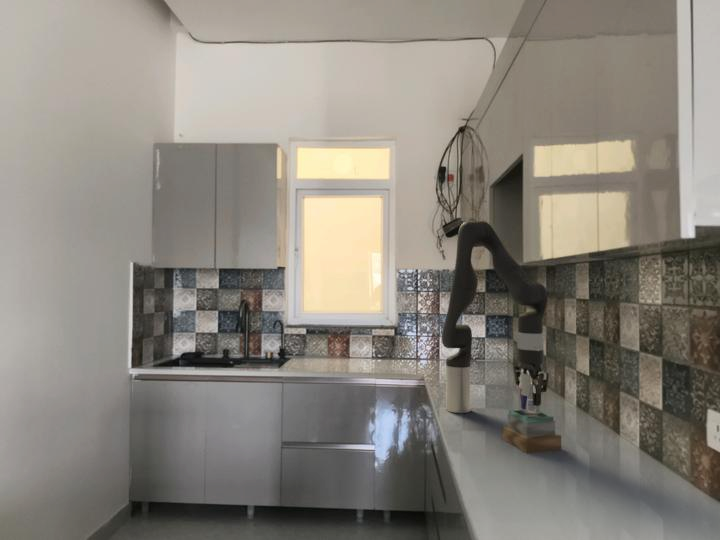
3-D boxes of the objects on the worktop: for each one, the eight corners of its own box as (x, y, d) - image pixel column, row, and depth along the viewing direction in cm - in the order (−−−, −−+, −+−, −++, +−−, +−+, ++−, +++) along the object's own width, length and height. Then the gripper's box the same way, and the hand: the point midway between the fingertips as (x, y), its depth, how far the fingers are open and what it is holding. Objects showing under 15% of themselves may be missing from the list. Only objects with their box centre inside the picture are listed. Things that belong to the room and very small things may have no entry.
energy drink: (524, 409, 141) (524, 370, 141) (542, 412, 137) (542, 373, 138) (518, 412, 136) (518, 373, 137) (536, 416, 133) (536, 375, 133)
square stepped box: (502, 439, 140) (502, 409, 141) (534, 436, 144) (534, 407, 144) (526, 452, 129) (526, 420, 129) (561, 449, 132) (561, 417, 133)
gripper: (506, 344, 143) (506, 398, 143) (535, 351, 130) (535, 410, 129) (525, 344, 145) (526, 396, 145) (556, 350, 132) (557, 408, 131)
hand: (530, 402), depth 137 cm, fingers closed on energy drink, 5 cm apart
